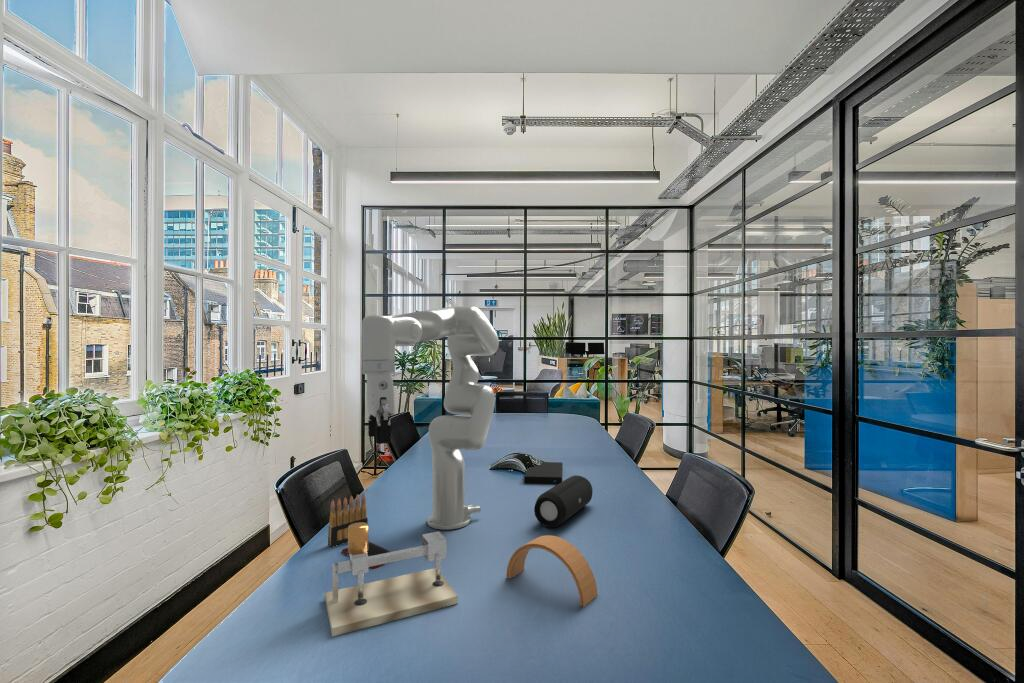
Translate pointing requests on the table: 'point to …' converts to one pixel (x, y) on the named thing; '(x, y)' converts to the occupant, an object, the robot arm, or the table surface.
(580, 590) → the arch
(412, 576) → the hole plate
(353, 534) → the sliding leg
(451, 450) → the robot arm
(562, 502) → the portable speaker
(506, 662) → the table surface
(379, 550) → the cell phone
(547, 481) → the external hard drive
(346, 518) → the ammunition clip
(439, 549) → the frame
